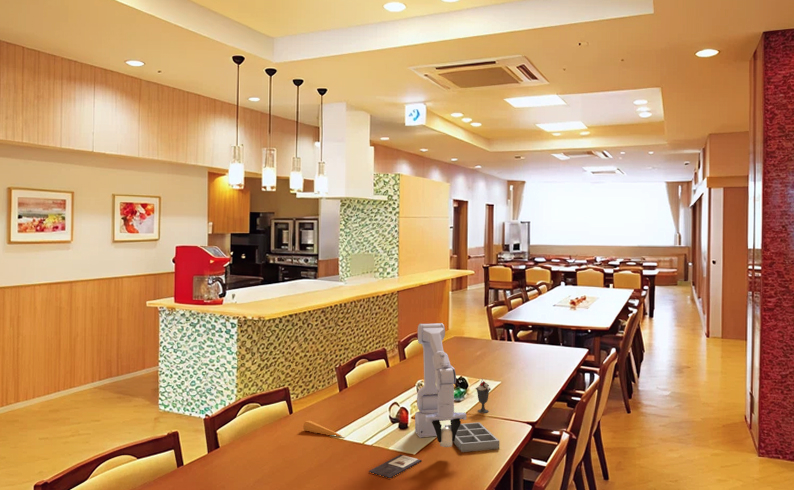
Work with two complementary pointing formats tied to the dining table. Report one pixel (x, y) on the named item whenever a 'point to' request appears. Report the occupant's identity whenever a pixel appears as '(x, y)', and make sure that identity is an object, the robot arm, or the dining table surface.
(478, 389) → the sundae
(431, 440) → the dining table surface
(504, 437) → the dining table surface
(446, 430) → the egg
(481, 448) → the grey compartment tray
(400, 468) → the chocolate bar
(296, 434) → the dining table surface
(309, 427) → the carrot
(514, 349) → the dining table surface
